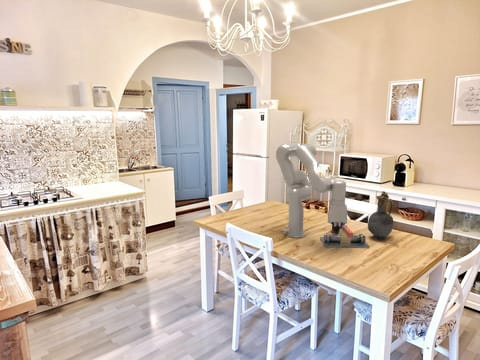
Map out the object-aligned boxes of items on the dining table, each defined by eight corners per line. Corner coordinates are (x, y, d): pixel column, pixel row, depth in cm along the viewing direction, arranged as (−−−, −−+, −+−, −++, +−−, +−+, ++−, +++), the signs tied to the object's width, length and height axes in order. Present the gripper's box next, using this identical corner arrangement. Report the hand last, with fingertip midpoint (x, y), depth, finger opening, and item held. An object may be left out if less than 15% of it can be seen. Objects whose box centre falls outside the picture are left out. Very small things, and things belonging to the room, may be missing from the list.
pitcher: (364, 237, 204) (367, 192, 199) (381, 231, 215) (385, 188, 209) (380, 243, 195) (384, 195, 190) (397, 236, 206) (401, 191, 200)
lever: (341, 229, 196) (341, 224, 195) (346, 229, 196) (347, 225, 195) (347, 237, 182) (348, 233, 182) (353, 237, 182) (353, 233, 181)
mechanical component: (344, 230, 217) (345, 235, 208) (328, 229, 219) (329, 234, 210) (345, 213, 215) (346, 217, 205) (329, 212, 217) (330, 216, 207)
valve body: (324, 247, 190) (325, 234, 188) (320, 238, 204) (320, 226, 202) (369, 248, 188) (370, 235, 187) (362, 239, 202) (363, 227, 200)
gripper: (326, 203, 180) (324, 234, 183) (353, 203, 179) (351, 235, 182) (323, 200, 187) (322, 230, 191) (349, 200, 186) (347, 230, 190)
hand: (336, 232), depth 187 cm, fingers closed
